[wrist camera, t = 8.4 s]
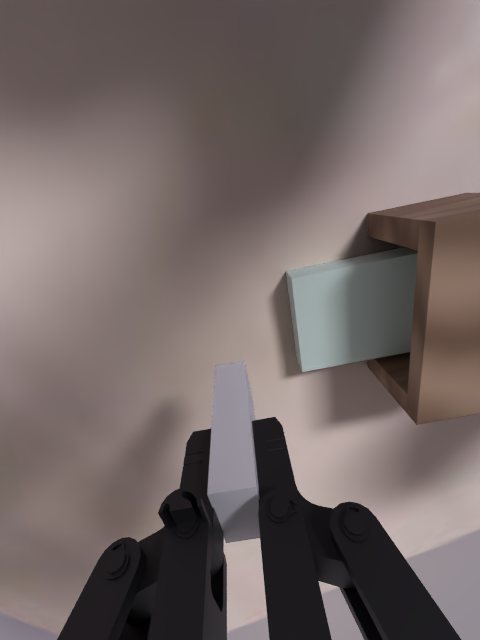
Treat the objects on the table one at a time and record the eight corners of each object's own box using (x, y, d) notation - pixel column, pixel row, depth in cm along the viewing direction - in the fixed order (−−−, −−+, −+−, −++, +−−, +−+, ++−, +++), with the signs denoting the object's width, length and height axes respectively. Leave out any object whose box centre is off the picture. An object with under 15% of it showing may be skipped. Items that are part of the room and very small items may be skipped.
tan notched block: (367, 213, 20) (435, 221, 13) (466, 193, 20) (583, 191, 13) (367, 366, 25) (416, 424, 19) (445, 352, 25) (521, 405, 19)
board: (284, 269, 22) (291, 278, 19) (426, 241, 21) (450, 246, 19) (295, 355, 25) (302, 372, 23) (418, 332, 25) (438, 346, 22)
